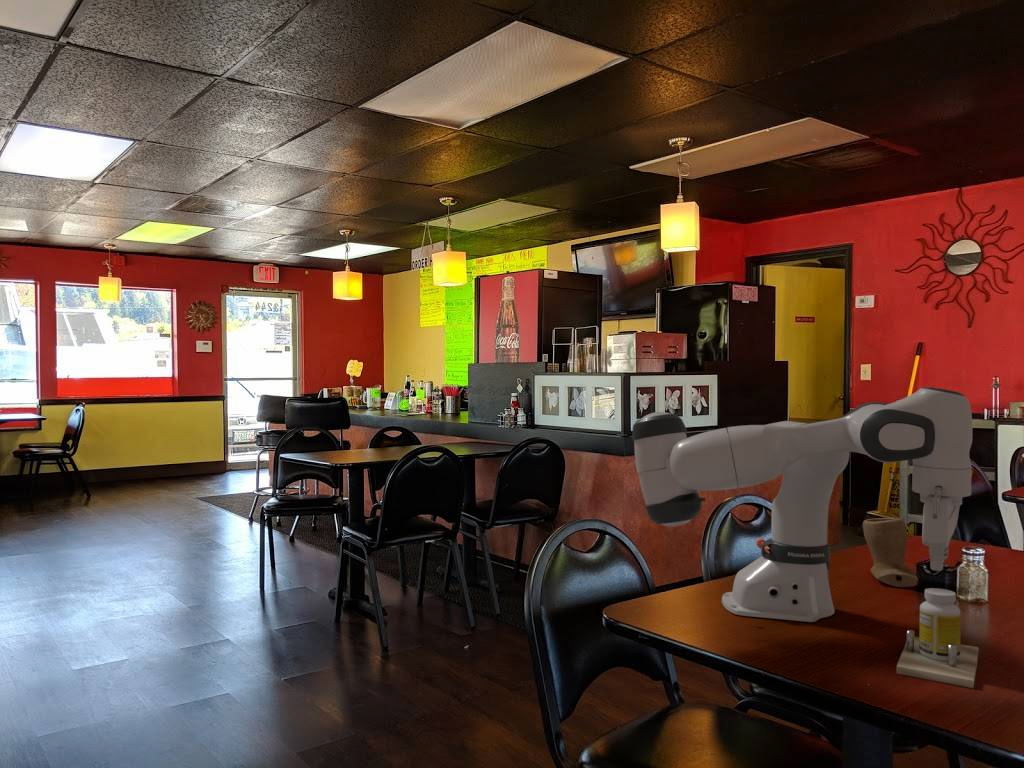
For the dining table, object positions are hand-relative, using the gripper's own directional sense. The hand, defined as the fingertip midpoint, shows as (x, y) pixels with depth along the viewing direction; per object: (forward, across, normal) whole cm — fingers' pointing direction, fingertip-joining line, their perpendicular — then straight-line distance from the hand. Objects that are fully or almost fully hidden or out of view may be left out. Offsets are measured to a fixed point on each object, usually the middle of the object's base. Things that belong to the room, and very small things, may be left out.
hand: (939, 563), depth 134 cm
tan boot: (+18, +54, +14) cm, 59 cm away
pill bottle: (+16, 0, 0) cm, 16 cm away
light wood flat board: (+17, 0, 0) cm, 17 cm away
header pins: (+16, 0, +1) cm, 16 cm away
